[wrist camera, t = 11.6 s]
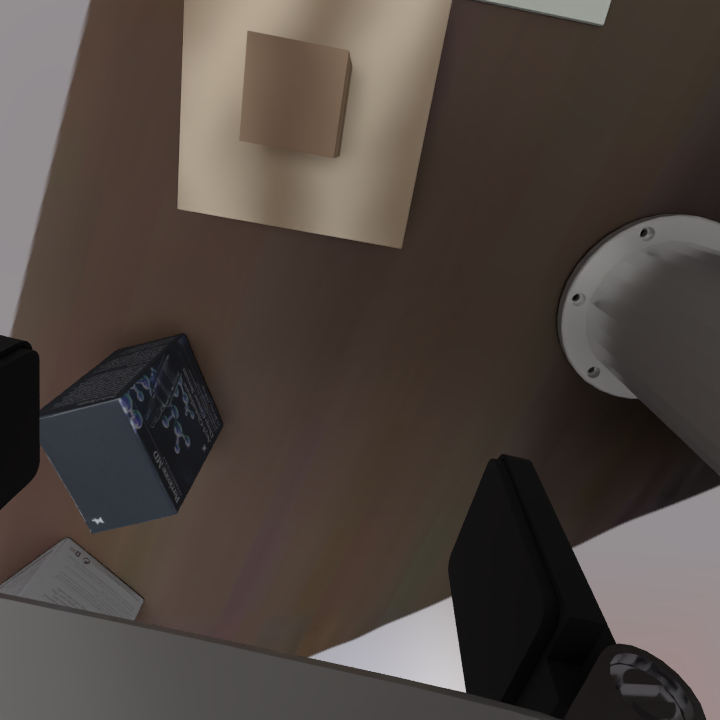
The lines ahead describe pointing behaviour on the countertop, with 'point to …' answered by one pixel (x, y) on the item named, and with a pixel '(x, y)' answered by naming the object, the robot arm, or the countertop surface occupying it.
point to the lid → (308, 111)
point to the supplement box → (74, 583)
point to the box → (132, 434)
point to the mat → (562, 8)
